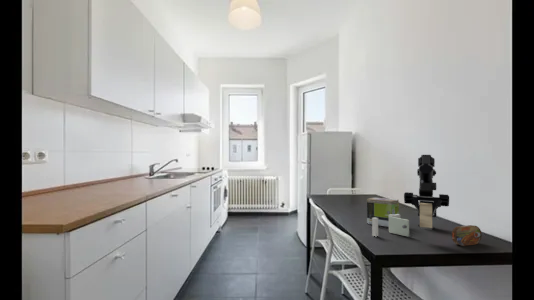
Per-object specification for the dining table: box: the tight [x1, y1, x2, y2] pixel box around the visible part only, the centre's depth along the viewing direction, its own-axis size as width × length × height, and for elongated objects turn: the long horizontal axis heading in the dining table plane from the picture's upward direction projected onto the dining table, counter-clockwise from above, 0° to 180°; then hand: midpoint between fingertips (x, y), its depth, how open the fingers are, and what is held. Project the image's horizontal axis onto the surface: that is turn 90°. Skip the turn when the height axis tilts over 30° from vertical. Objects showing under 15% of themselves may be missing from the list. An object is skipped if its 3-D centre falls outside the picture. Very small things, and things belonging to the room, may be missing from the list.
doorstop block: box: [419, 203, 433, 231], centre depth 139 cm, size 5×5×11 cm
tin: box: [451, 224, 482, 247], centre depth 137 cm, size 15×3×8 cm, turn 106°
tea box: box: [366, 197, 400, 228], centre depth 175 cm, size 15×10×15 cm, turn 45°
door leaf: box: [388, 217, 410, 238], centre depth 152 cm, size 10×2×8 cm, turn 36°
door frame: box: [371, 213, 401, 238], centre depth 155 cm, size 22×2×9 cm, turn 126°
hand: (425, 213), depth 138 cm, fingers closed on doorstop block, 5 cm apart
